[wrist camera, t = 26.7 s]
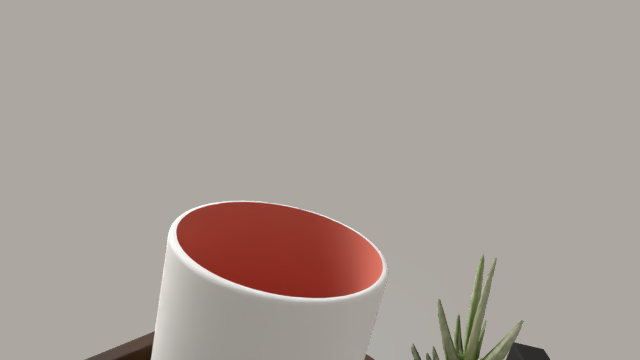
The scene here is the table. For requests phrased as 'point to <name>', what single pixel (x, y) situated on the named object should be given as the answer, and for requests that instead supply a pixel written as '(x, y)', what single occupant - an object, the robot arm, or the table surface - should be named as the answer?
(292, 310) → the cup
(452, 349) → the potted plant
